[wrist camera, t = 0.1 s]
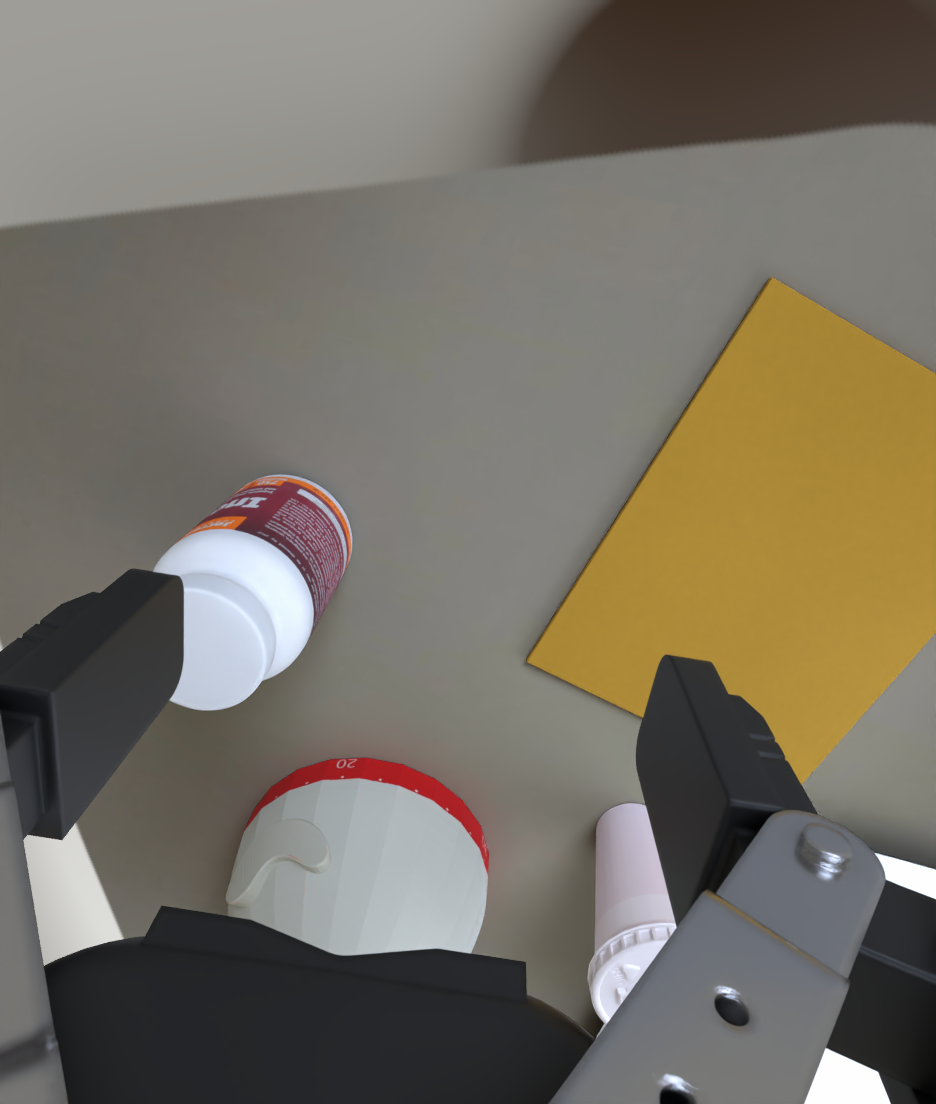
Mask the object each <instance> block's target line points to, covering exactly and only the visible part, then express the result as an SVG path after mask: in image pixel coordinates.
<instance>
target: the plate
mask: <svg viewBox="0 0 936 1104" xmlns="http://www.w3.org/2000/svg"><path fill="white" fill-rule="evenodd" d="M874 853H875V854H876V856H877V857H878V859H879V860H880V862H881V864H882V866H883V869H884V871H885V878H886V880H888V881H891V882H893V883H896V884H898V885H900V886H903V887H905V888H908V889H911V890H913V891H916V892H919V893H921V894H924V895H926V896H929V897H932V898H934V899H936V869H935V868H932V867H928V866H924V865H921V864H917V863H914V862H910V861H907V860H903V859H899V858H896V857H892V856H889V855H885V854H881V853H877V852H874ZM605 1026H606V1024H605V1023H604V1024H603V1026H602V1028H601V1029H600V1031H599V1033H598V1034H597V1036H596V1038H597V1037H598V1035H599V1034H600V1033H601V1031H602V1030H603V1028H604V1027H605ZM596 1038H595V1039H596ZM804 1104H891V1103H890V1101H889V1098H888V1096H887V1093H886V1091H885V1088H884V1086H883V1083H882V1081H881V1078H880V1076H879V1073H878V1072H877V1071H875V1070H873V1069H870V1068H868V1067H866V1066H864V1065H862V1064H859V1063H857V1062H855V1061H853V1060H851V1059H849V1058H846V1057H844V1056H842V1055H840V1054H838V1053H835V1052H833V1051H831V1050H829V1049H827V1048H826V1049H825V1051H824V1054H823V1057H822V1059H821V1062H820V1064H819V1067H818V1070H817V1072H816V1075H815V1077H814V1080H813V1082H812V1085H811V1088H810V1090H809V1093H808V1095H807V1098H806V1101H805V1103H804Z"/></svg>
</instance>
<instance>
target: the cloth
mask: <svg viewBox="0 0 936 1104" xmlns="http://www.w3.org/2000/svg"><path fill="white" fill-rule="evenodd" d="M935 633H936V374H935V373H933V372H932V371H930V370H928V369H927V368H925V367H923V366H922V365H920V364H918V363H916V362H915V361H913V360H911V359H910V358H908V357H906V356H905V355H903V354H901V353H900V352H898V351H896V350H894V349H893V348H891V347H889V346H888V345H886V344H884V343H883V342H881V341H879V340H877V339H876V338H874V337H872V336H871V335H869V334H867V333H866V332H864V331H862V330H861V329H859V328H857V327H855V326H854V325H852V324H850V323H849V322H847V321H845V320H844V319H842V318H840V317H838V316H837V315H835V314H833V313H832V312H830V311H828V310H827V309H825V308H823V307H822V306H820V305H818V304H816V303H815V302H813V301H811V300H810V299H808V298H806V297H805V296H803V295H801V294H800V293H798V292H796V291H794V290H793V289H791V288H789V287H788V286H786V285H784V284H783V283H781V282H779V281H777V280H776V279H774V278H769V280H768V281H767V283H766V284H765V286H764V287H763V289H762V291H761V292H760V294H759V295H758V297H757V298H756V300H755V302H754V303H753V305H752V306H751V308H750V309H749V311H748V313H747V314H746V316H745V317H744V319H743V320H742V322H741V323H740V325H739V327H738V328H737V330H736V331H735V333H734V334H733V336H732V338H731V339H730V341H729V342H728V344H727V345H726V347H725V349H724V350H723V352H722V353H721V355H720V356H719V358H718V360H717V361H716V363H715V364H714V366H713V367H712V369H711V371H710V372H709V374H708V375H707V377H706V378H705V380H704V381H703V383H702V385H701V386H700V388H699V389H698V391H697V392H696V394H695V396H694V397H693V399H692V400H691V402H690V403H689V405H688V407H687V408H686V410H685V411H684V413H683V414H682V416H681V418H680V419H679V421H678V422H677V424H676V425H675V427H674V429H673V430H672V432H671V433H670V435H669V436H668V438H667V439H666V441H665V443H664V444H663V446H662V447H661V449H660V450H659V452H658V454H657V455H656V457H655V458H654V460H653V461H652V463H651V465H650V466H649V468H648V469H647V471H646V472H645V474H644V476H643V477H642V479H641V480H640V482H639V483H638V485H637V487H636V488H635V490H634V491H633V493H632V494H631V496H630V498H629V499H628V501H627V502H626V504H625V505H624V507H623V508H622V510H621V512H620V513H619V515H618V516H617V518H616V519H615V521H614V523H613V524H612V526H611V527H610V529H609V530H608V532H607V534H606V535H605V537H604V538H603V540H602V541H601V543H600V545H599V546H598V548H597V549H596V551H595V552H594V554H593V556H592V557H591V559H590V560H589V562H588V563H587V565H586V566H585V568H584V570H583V571H582V573H581V574H580V576H579V577H578V579H577V581H576V582H575V584H574V585H573V587H572V588H571V590H570V592H569V593H568V595H567V596H566V598H565V599H564V601H563V603H562V604H561V606H560V607H559V609H558V610H557V612H556V614H555V615H554V617H553V618H552V620H551V621H550V623H549V624H548V626H547V628H546V629H545V631H544V632H543V634H542V635H541V637H540V639H539V640H538V642H537V643H536V645H535V646H534V648H533V650H532V651H531V653H530V654H529V656H528V657H527V659H526V660H527V662H528V663H530V664H532V665H534V666H536V667H538V668H540V669H542V670H544V671H546V672H548V673H550V674H553V675H555V676H557V677H559V678H561V679H563V680H565V681H567V682H569V683H571V684H573V685H575V686H577V687H580V688H582V689H584V690H586V691H588V692H590V693H592V694H594V695H596V696H598V697H600V698H602V699H604V700H607V701H609V702H611V703H613V704H615V705H617V706H619V707H621V708H623V709H625V710H627V711H629V712H631V713H633V714H636V715H638V716H640V717H642V718H643V716H644V713H645V709H646V706H647V702H648V699H649V695H650V692H651V688H652V685H653V682H654V678H655V675H656V671H657V668H658V665H659V663H660V661H661V659H662V657H663V656H664V655H666V654H667V655H674V656H680V657H686V658H693V659H699V660H705V661H710V662H712V663H713V665H714V666H715V668H716V670H717V672H718V674H719V676H720V678H721V680H722V682H723V684H724V686H725V688H726V690H727V692H728V694H732V695H738V696H741V697H742V698H743V699H744V700H745V701H747V702H748V703H749V704H750V705H751V706H752V707H753V708H754V709H755V710H757V711H758V712H759V713H760V714H761V715H762V716H763V717H764V719H765V721H766V722H767V724H768V726H769V728H770V729H771V731H772V733H773V735H774V737H775V742H778V744H779V746H780V747H781V749H782V751H783V753H784V755H785V760H786V761H788V762H789V764H790V765H791V767H792V769H793V771H794V773H795V774H796V776H797V778H798V780H799V782H800V783H801V784H802V783H803V782H804V781H805V780H806V779H807V778H808V776H809V775H810V774H811V773H812V772H813V771H814V770H815V769H816V767H817V766H818V765H819V764H820V763H821V762H822V761H823V759H824V758H825V757H826V756H827V755H828V754H829V753H830V752H831V750H832V749H833V748H834V747H835V746H836V745H837V744H838V742H839V741H840V740H841V739H842V738H843V737H844V736H845V735H846V733H847V732H848V731H849V730H850V729H851V728H852V727H853V726H854V724H855V723H856V722H857V721H858V720H859V719H860V718H861V716H862V715H863V714H864V713H865V712H866V711H867V710H868V709H869V707H870V706H871V705H872V704H873V703H874V702H875V701H876V699H877V698H878V697H879V696H880V695H881V694H882V693H883V692H884V690H885V689H886V688H887V687H888V686H889V685H890V684H891V682H892V681H893V680H894V679H895V678H896V677H897V676H898V675H899V673H900V672H901V671H902V670H903V669H904V668H905V667H906V666H907V664H908V663H909V662H910V661H911V660H912V659H913V658H914V656H915V655H916V654H917V653H918V652H919V651H920V650H921V649H922V647H923V646H924V645H925V644H926V643H927V642H928V641H929V639H930V638H931V637H932V636H933V635H934V634H935Z"/></svg>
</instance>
